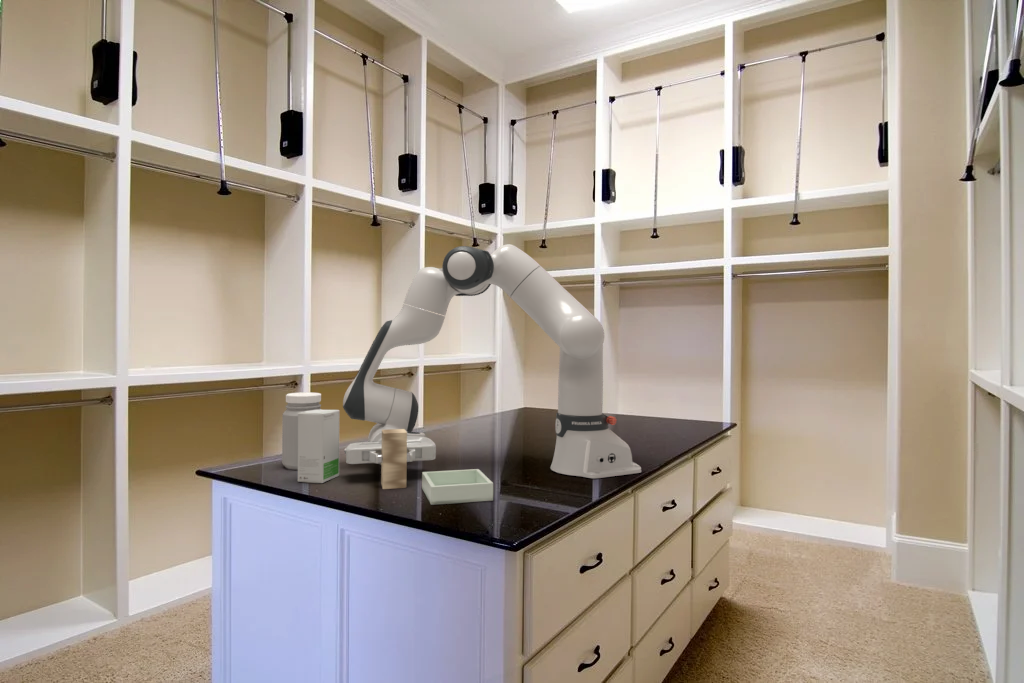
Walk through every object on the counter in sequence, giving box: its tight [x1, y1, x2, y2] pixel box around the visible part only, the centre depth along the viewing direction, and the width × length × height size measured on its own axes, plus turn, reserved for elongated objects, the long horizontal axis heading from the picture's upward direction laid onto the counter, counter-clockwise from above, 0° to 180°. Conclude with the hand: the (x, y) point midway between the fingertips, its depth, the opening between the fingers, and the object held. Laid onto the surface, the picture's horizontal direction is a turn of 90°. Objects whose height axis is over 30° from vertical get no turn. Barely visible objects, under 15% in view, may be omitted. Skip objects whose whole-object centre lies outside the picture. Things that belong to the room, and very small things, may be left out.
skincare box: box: [297, 409, 340, 484], centre depth 133 cm, size 8×7×16 cm
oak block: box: [380, 429, 408, 490], centre depth 128 cm, size 5×5×12 cm
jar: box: [281, 391, 323, 471], centre depth 145 cm, size 10×10×18 cm
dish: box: [421, 468, 494, 506], centre depth 122 cm, size 13×13×4 cm
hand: (394, 459), depth 127 cm, fingers closed on oak block, 5 cm apart
